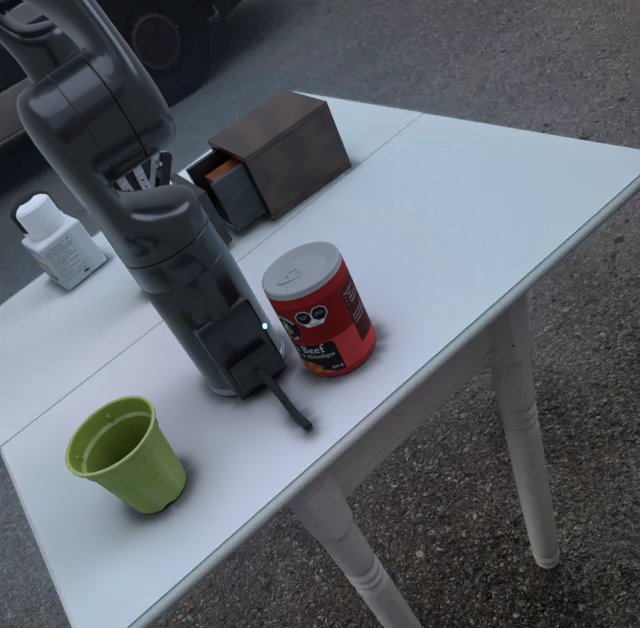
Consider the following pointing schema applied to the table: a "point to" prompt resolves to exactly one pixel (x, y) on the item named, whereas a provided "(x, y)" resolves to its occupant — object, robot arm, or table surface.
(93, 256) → the container
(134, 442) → the plant pot
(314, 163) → the cabinet
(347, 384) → the table surface
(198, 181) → the drawer
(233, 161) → the block
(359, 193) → the table surface
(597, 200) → the table surface
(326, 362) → the canned food
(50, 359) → the table surface
